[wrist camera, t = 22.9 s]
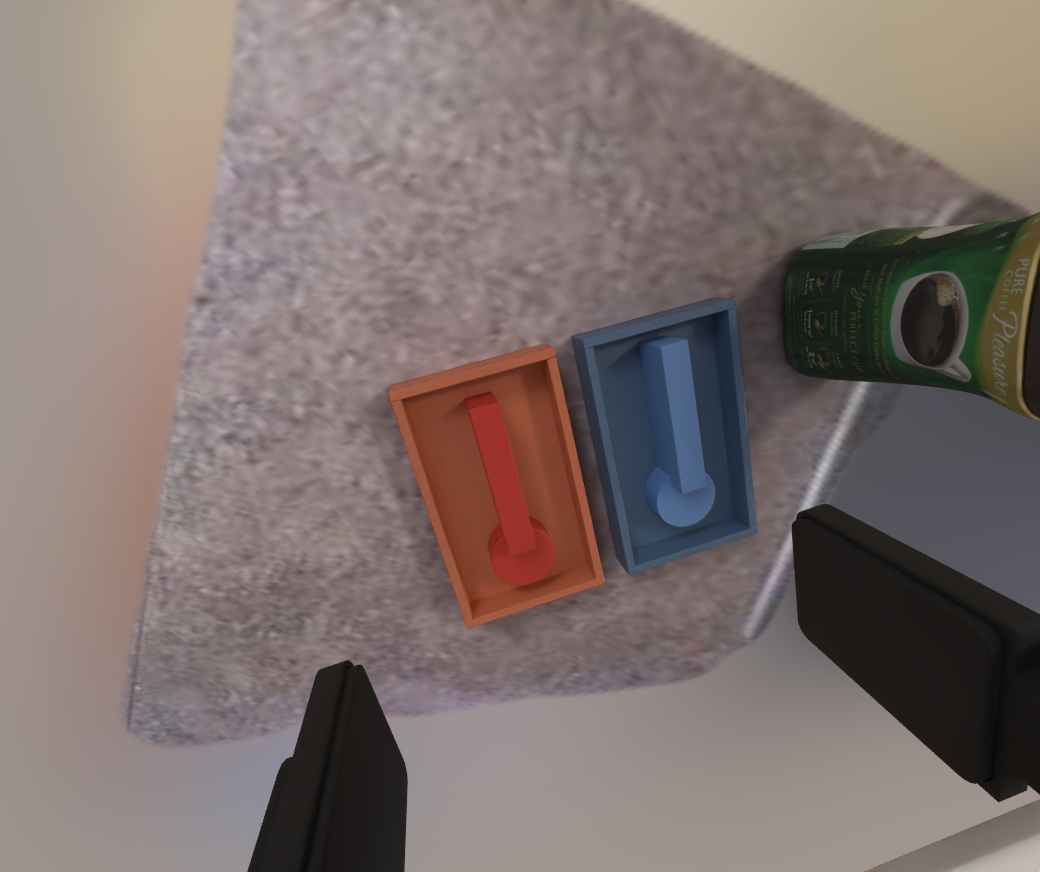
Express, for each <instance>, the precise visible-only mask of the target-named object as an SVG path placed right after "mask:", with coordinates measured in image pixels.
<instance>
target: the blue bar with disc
mask: <svg viewBox="0 0 1040 872" xmlns="http://www.w3.org/2000/svg"><path fill="white" fill-rule="evenodd" d="M638 346H639V353H640V359H641V365H642V371H643V377H644V383H645V390H646V396H647V402H648V408H649V414H650V421H651V427H652V433H653V439H654V445H655V451H656V458H657V464H658V467H657V468H656V469H655V470H654V471H653V472H652V473H651V475H650V476H649V478H648V480H647V483H646V487H645V497H646V501H647V503H648V505H649V506H650V508H651V509H652V510H653V511H654V512H655V513H656V514H657V515H659V516H660V517H661V518H662V519H663V520H664V521H665V522H666V523H668V524H670V525H672V526H676V527H686V526H690V525H693V524H695V523H697V522H698V521H700V520H701V519H702V518H704V517H705V516H706V515H707V513H708V512H709V511H710V509H711V507H712V505H713V502H714V499H715V487H714V483H713V481H712V479H711V478H710V476H709V475H708V474H706V473H705V469H704V461H703V453H702V446H701V438H700V430H699V422H698V415H697V407H696V399H695V391H694V384H693V376H692V368H691V360H690V353H689V345H688V340H687V339H682V338H677V337H671V336H665V335H660V336H656V337H653V338H649V339H645V340H642V341H639V342H638Z"/></svg>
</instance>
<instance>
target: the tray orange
mask: <svg viewBox="0 0 1040 872" xmlns="http://www.w3.org/2000/svg"><path fill="white" fill-rule="evenodd" d="M490 391H491V392H492V393H493V395H494V396H495V398H496V399H497V400H498V402H499V405H500V409H501V412H502V416H503V420H504V424H505V428H506V432H507V435H508V439H509V443H510V447H511V451H512V455H513V458H514V462H515V466H516V470H517V474H518V477H519V481H520V485H521V489H522V493H523V497H524V500H525V504H526V508H527V512H528V516H529V517H532V518H535V519H536V520H538V521H539V522H541V523H542V524H543V525H544V527H545V528H546V530H547V532H548V534H549V536H550V538H551V540H552V542H553V544H554V547H555V559H554V563H553V565H552V567H551V569H550V571H549V572H548V573H547V574H546V575H545V576H544V577H543V578H542V579H540V580H539V581H537V582H535V583H532V584H529V585H523V586H517V585H511V584H509V583H506V582H504V581H503V580H501V579H500V578H499V577H498V576H497V575H496V573H495V571H494V569H493V567H492V563H491V559H490V555H489V550H488V542H489V538H490V535H491V533H492V532H493V530H494V529H495V528H496V526H497V525H498V524H500V522H499V519H498V515H497V512H496V508H495V505H494V501H493V498H492V494H491V491H490V487H489V483H488V480H487V476H486V473H485V469H484V466H483V462H482V459H481V455H480V452H479V448H478V445H477V441H476V438H475V434H474V431H473V427H472V424H471V420H470V417H469V413H468V410H467V406H466V403H465V398H468V397H472V396H475V395H479V394H483V393H486V392H490ZM388 395H389V398H390V401H391V402H392V403H391V404H392V407H393V410H394V413H395V416H396V419H397V422H398V425H399V428H400V431H401V434H402V437H403V440H404V443H405V446H406V448H407V451H408V454H409V457H410V460H411V463H412V466H413V469H414V472H415V475H416V478H417V481H418V484H419V487H420V490H421V493H422V496H423V499H424V502H425V505H426V508H427V511H428V514H429V517H430V520H431V523H432V526H433V529H434V532H435V535H436V538H437V541H438V544H439V547H440V550H441V553H442V556H443V559H444V562H445V565H446V568H447V571H448V574H449V577H450V580H451V583H452V585H453V588H454V591H455V594H456V597H457V600H458V603H459V606H460V609H461V612H462V615H463V618H464V621H465V624H466V627H467V628H471V627H474V626H477V625H480V624H483V623H486V622H489V621H492V620H495V619H498V618H501V617H504V616H507V615H510V614H513V613H516V612H519V611H522V610H525V609H528V608H532V607H535V606H538V605H541V604H544V603H547V602H550V601H553V600H556V599H559V598H562V597H565V596H568V595H571V594H574V593H577V592H580V591H583V590H586V589H589V588H592V587H595V586H598V585H601V584H604V583H605V580H604V576H603V571H602V566H601V561H600V557H599V552H598V548H597V543H596V538H595V534H594V529H593V525H592V520H591V515H590V511H589V506H588V502H587V497H586V492H585V488H584V483H583V478H582V474H581V469H580V465H579V460H578V455H577V451H576V446H575V442H574V437H573V432H572V428H571V423H570V419H569V414H568V409H567V405H566V400H565V395H564V391H563V386H562V382H561V377H560V372H559V368H558V363H557V359H556V354H555V349H554V348H553V347H551V346H549V345H546V344H541V345H538V346H534V347H530V348H527V349H523V350H519V351H515V352H512V353H508V354H504V355H501V356H497V357H493V358H490V359H486V360H482V361H479V362H475V363H471V364H468V365H464V366H460V367H457V368H453V369H449V370H446V371H442V372H438V373H435V374H431V375H427V376H424V377H420V378H416V379H412V380H409V381H405V382H401V383H398V384H394V385H391V387H390V390H389V392H388Z"/></svg>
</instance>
